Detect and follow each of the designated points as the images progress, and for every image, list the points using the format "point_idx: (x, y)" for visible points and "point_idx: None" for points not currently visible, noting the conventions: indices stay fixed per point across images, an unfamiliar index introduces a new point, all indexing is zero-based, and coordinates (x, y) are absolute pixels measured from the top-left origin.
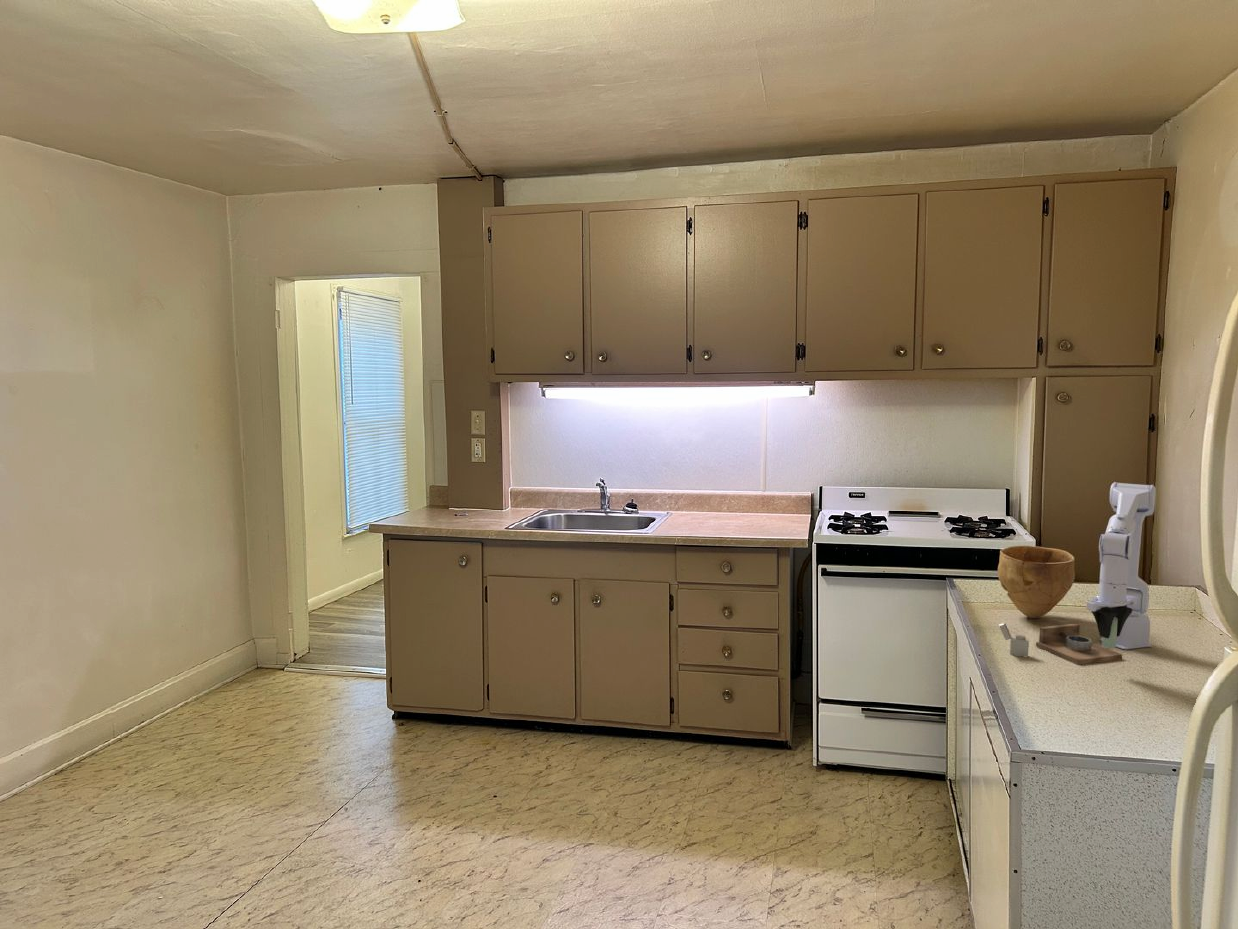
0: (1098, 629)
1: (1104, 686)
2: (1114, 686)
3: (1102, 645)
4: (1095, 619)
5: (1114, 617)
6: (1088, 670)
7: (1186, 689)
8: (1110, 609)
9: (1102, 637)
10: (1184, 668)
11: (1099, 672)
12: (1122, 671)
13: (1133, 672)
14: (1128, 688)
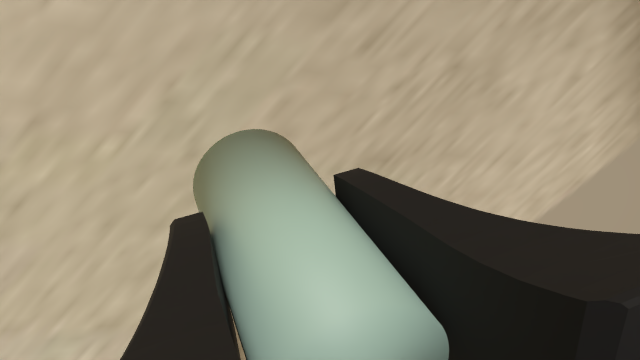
0: (166, 259)
1: (18, 308)
2: (84, 306)
3: (195, 175)
4: (124, 355)
5: (437, 357)
6: (95, 57)
7: None
8: (536, 356)
9: (211, 204)
10: (603, 115)
11: (151, 103)
12: (308, 109)
13: (353, 131)
14: None
